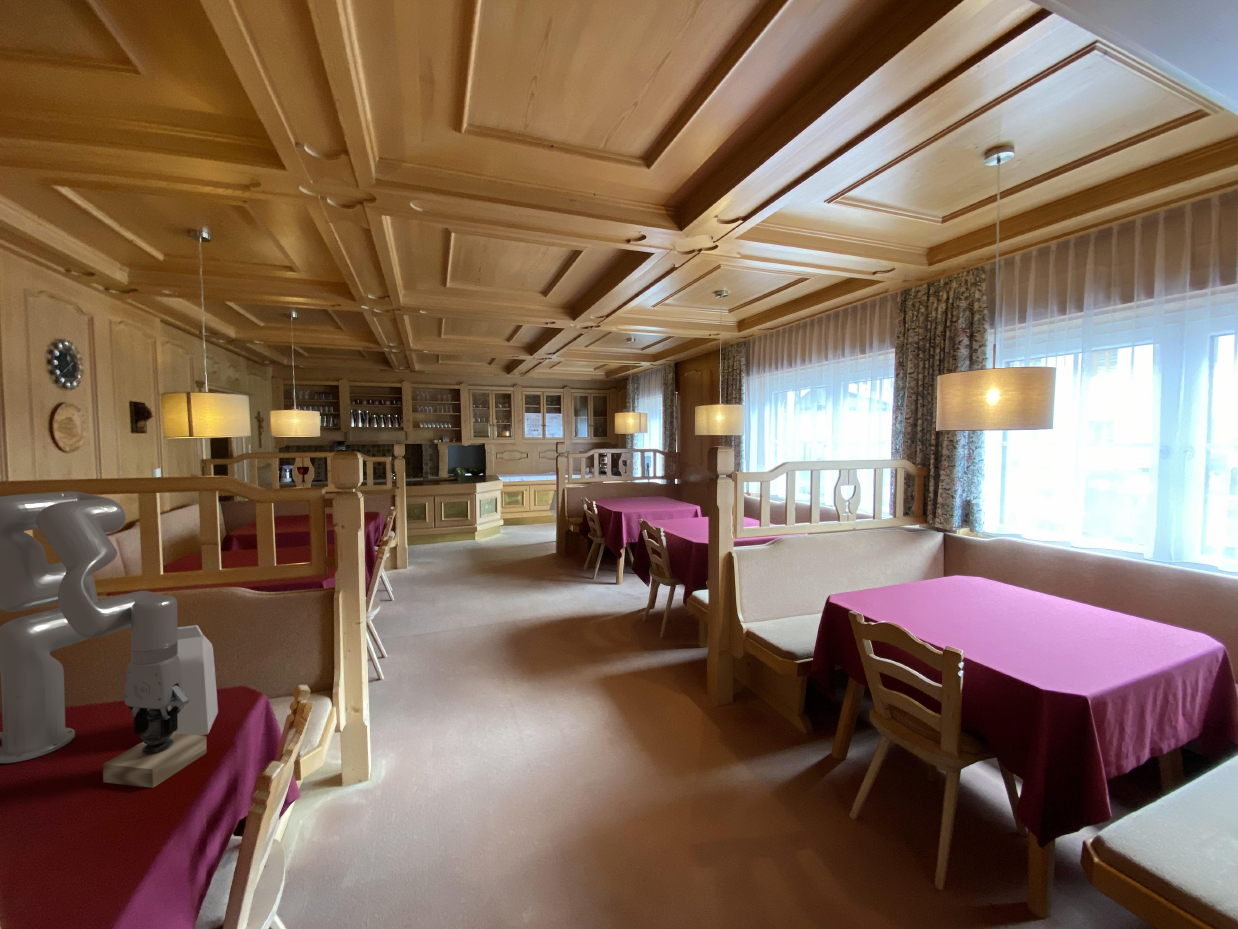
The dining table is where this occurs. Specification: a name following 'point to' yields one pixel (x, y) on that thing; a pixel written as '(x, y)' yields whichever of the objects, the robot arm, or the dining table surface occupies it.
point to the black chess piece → (155, 734)
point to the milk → (196, 682)
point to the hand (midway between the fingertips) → (156, 731)
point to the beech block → (154, 762)
